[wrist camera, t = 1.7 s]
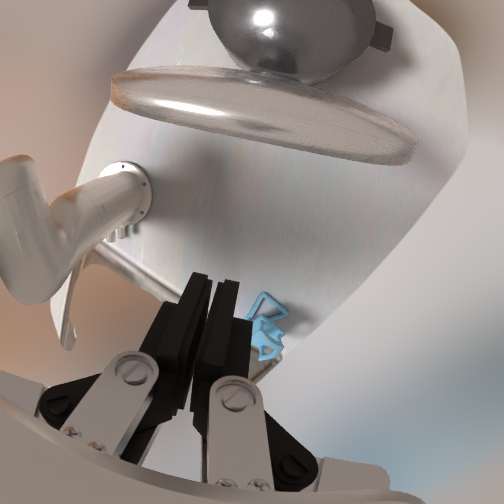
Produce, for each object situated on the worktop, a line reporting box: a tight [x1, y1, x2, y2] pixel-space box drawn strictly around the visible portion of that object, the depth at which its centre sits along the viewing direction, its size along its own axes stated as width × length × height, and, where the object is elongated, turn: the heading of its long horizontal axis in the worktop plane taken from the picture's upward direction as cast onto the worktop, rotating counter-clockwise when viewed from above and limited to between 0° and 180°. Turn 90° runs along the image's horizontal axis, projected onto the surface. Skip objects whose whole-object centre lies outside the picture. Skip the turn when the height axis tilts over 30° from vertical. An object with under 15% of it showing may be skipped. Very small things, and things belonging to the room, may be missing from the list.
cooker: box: [188, 0, 393, 85], centre depth 29 cm, size 22×28×12 cm
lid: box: [111, 66, 418, 166], centre depth 20 cm, size 25×23×4 cm
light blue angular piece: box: [245, 292, 289, 361], centre depth 53 cm, size 8×8×12 cm
